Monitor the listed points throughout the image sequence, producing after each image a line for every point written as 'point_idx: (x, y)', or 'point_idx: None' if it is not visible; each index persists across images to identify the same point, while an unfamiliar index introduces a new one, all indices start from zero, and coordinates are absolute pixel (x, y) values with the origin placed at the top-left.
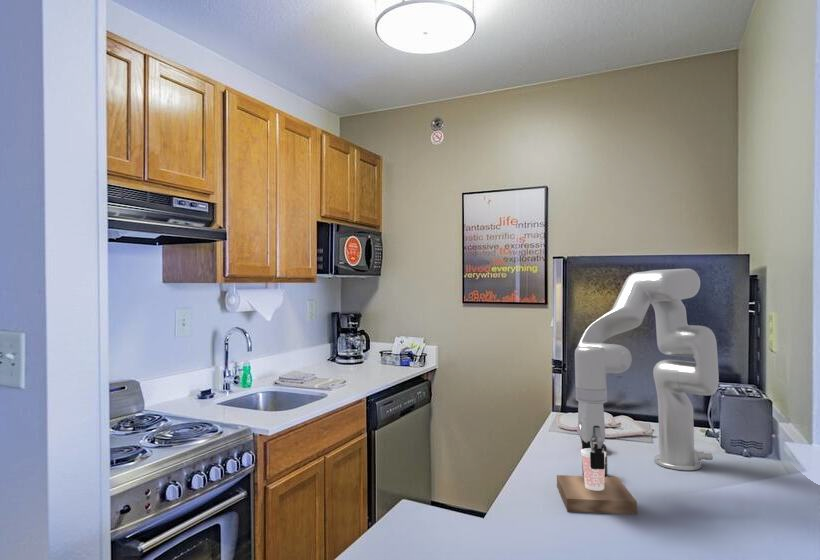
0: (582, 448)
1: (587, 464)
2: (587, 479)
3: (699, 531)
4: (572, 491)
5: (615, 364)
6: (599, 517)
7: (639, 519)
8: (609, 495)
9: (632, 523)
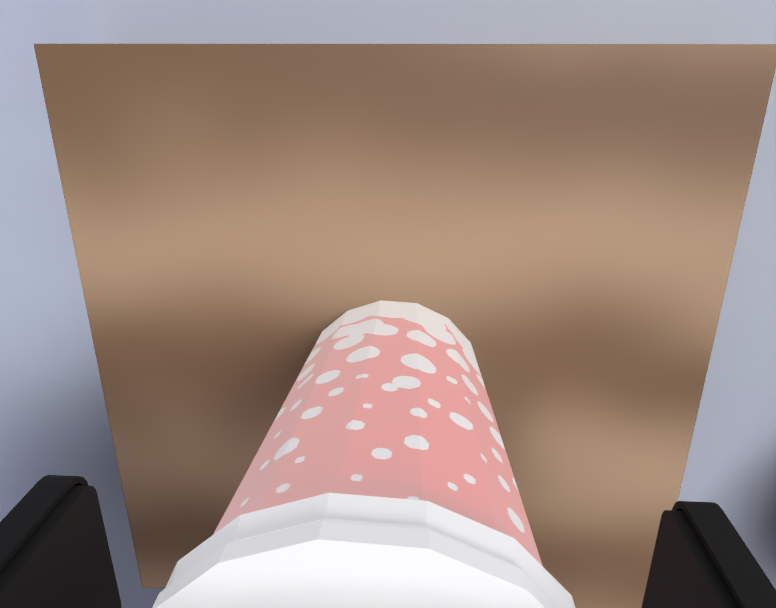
0: (752, 600)
1: (263, 465)
2: (324, 354)
3: None
4: (247, 146)
5: None
6: (62, 286)
7: (108, 511)
8: (216, 449)
9: (35, 459)
